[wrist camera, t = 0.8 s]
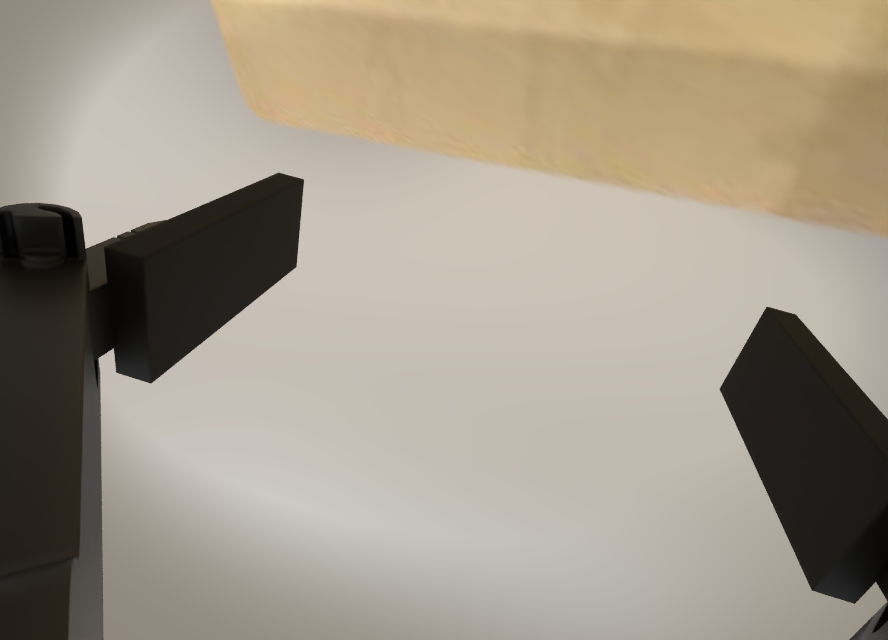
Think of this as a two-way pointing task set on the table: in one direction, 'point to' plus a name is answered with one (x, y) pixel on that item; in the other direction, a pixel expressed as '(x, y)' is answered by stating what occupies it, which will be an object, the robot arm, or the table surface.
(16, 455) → the robot arm
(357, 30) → the table surface
